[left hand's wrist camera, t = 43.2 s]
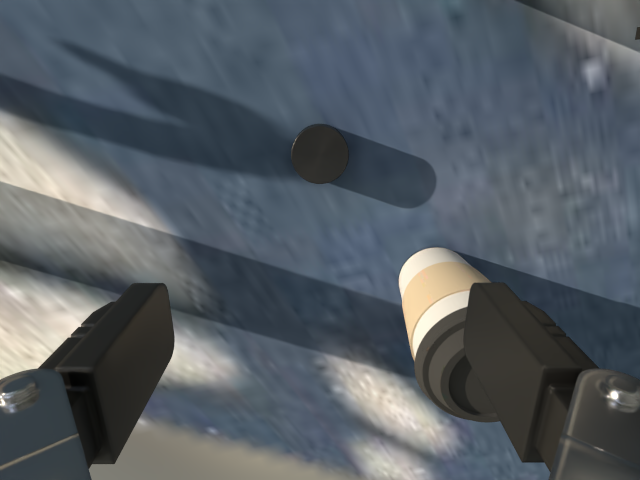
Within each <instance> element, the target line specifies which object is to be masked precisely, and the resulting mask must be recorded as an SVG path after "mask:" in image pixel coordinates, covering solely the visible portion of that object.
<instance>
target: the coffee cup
mask: <svg viewBox="0 0 640 480" xmlns="http://www.w3.org/2000/svg"><path fill="white" fill-rule="evenodd" d="M473 283H492V282H490V281H489V280H488V279H487V278H486V277H485V276H484V275H482V274H481V273H480V272H479V271H478V270H476V269H475V268H473V267H472V266H471V265H470V264H468V263H467V262H466V261H465V260H464V259H463V258H462V257H461V256H460V255H458V254H457V253H455V252H453V251H451V250H449V249H445V248H429V249H425V250H422V251H420V252H418V253H416V254H414V255H413V256H412V257H410V258H409V259H408V260H407V262H406V263H405V264H404V266H403V268H402V270H401V272H400V276H399V287H400V292H401V296H402V307H403V313H404V318H405V323H406V328H407V333H408V338H409V343H410V348H411V353H412V356H413V359H414V361H415V364H414V368H415V376H416V379H417V382H418V384H419V386H420V388H421V390H422V391H423V392H424V394H425V395H426V396H427V397H428V398H429V399H430V400H432V402H433V403H434V404H435V405H437V406H438V407H439V408H440V409H442V410H443V411H445V412H447V413H449V414H451V415H453V416H456V417H459V418H463V419H467V420H473V421H478V422H497V421H500V420H499V418H498V416H497V414H496V412H495V410H494V408H493V406H492V405H491V403H490V401H489V399H488V397H487V395H486V393H485V391H484V389H483V388H482V386H481V384H480V382H479V380H478V378H477V376H476V374H475V372H474V371H473V369H472V367H471V365H470V363H469V361H468V359H467V357H466V354H465V350H464V342H463V335H464V327H465V320H466V313H467V306H468V299H469V292H470V288H471V286H472V284H473Z"/></svg>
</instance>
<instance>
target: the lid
mask: <svg viewBox="0 0 640 480" xmlns="http://www.w3.org/2000/svg"><path fill="white" fill-rule="evenodd" d="M348 157H349V153H348V147H347V144H346V142H345V139H344V137H343V136H342V134H341V133H340V132H339V131H338V130H337V129H335V128H334V127H332V126H329V125H326V124H314V125H311V126H308V127H306V128H305V129H303V130H302V131H301V132H300V133H299V134H298V136H297V137H296V139H295V141H294V144H293V146H292V151H291V159H292V163H293V166H294V168H295V170H296V172H297V173H298V174H299V175H300V176H301V177H302V178H303V179H305V180H307V181H309V182H311V183H316V184H324V183H328V182H331V181H333V180H335V179H336V178H338V177H339V176H340V175H341V174H342V173H343V171H344V170H345V168H346V166H347V163H348Z"/></svg>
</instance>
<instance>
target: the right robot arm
mask: <svg viewBox="0 0 640 480" xmlns="http://www.w3.org/2000/svg"><path fill="white" fill-rule="evenodd" d="M637 39H640V27H637V32H636V38H635V40H637Z"/></svg>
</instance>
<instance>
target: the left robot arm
mask: <svg viewBox="0 0 640 480" xmlns="http://www.w3.org/2000/svg"><path fill="white" fill-rule="evenodd" d="M463 342H464V350H465V354H466V357H467V359H468V361H469V363H470V365H471V367H472V369H473V371H474V372H475V374H476V376H477V378H478V380H479V382H480V384H481V386H482V388H483V389H484V391H485V393H486V395H487V397H488V399H489V401H490V403H491V405H492V406H493V408H494V410H495V412H496V414H497V416H498V418H499V420H500V421H501V423H502V425H503V427H504V429H505V431H506V433H507V435H508V437H509V438H510V440H511V442H512V444H513V446H514V448H515V450H516V452H517V454H518V455H519V457H520V459H521V461H522V462H545V464H546V466H547V467H548V469H549V471H550V472H551V473H550V476H549V480H640V380H639V379H637V378H635V377H633V376H630V375H627V374H625V373H621V372H618V371H614V370H609V369H599V368H598V366H597V365H596V364H595V363H594V362H593V361H592V360H591V359H590V358H589V357H588V356H587V355H586V354H585V353H584V352H583V351H582V350H581V349H580V348H579V347H578V346H577V345H576V344H575V343H574V342H573V341H572V340H571V339H570V338H569V337H566V334H565V333H564V331H563V330H562V329H561V328H560V327H559V326H556V323H555V322H554V321H553V320H552V319H551V318H550V317H549V316H548V315H547V314H546V313H545V312H544V311H542V310H541V309H539V308H537V307H535V306H534V305H532V304H530V303H528V302H527V301H521V300H520V299H519V298H518V297H517V296H516V295H515V293H514V292H513V291H512V290H511V289H510V288H509V287H508V286H507V285H506V284H505V283H473V284H472V286H471V288H470V292H469V299H468V306H467V313H466V320H465V327H464V335H463ZM173 350H174V330H173V323H172V316H171V309H170V302H169V295H168V290H167V287H166V285H165V284H164V283H134V284H132V285H131V286H130V287H129V288H128V289H127V290H126V291H125V292H124V293H123V295H122V296H121V297H120V298H119V299H118V300H117V301H116V302H110V303H109V304H107V305H105V306H103V307H101V308H100V309H98V310H96V311H94V312H93V313H92V314H91V315H90V316H89V317H88V318H87V319H86V320H85V321H84V322H83V323H82V324H81V327H78V328H77V329H76V330H75V331H74V332H73V333H72V334H71V338H67V339H66V340H65V341H64V342H63V344H62V345H61V346H60V347H59V348H58V349H57V350H56V351H55V352H54V353H53V354H52V355H51V356H50V357H49V358H48V359H47V360H46V361H45V362H44V363H43V364H42V365H41V366H40V367H39V368H38V369H31V370H26V371H22V372H19V373H15V374H13V375H10V376H7V377H5V378H3V379H1V380H0V480H91V476H90V473H89V468H90V466H91V465H92V464H115V462H116V460H117V458H118V456H119V455H120V453H121V451H122V449H123V447H124V445H125V443H126V442H127V440H128V438H129V436H130V434H131V432H132V430H133V429H134V427H135V425H136V423H137V421H138V419H139V417H140V415H141V414H142V412H143V410H144V408H145V406H146V404H147V402H148V401H149V399H150V397H151V395H152V393H153V391H154V389H155V388H156V386H157V384H158V382H159V380H160V378H161V376H162V374H163V373H164V371H165V369H166V367H167V365H168V363H169V361H170V359H171V357H172V354H173Z"/></svg>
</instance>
